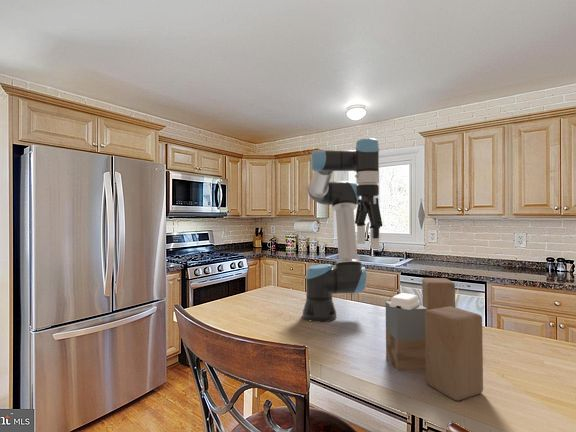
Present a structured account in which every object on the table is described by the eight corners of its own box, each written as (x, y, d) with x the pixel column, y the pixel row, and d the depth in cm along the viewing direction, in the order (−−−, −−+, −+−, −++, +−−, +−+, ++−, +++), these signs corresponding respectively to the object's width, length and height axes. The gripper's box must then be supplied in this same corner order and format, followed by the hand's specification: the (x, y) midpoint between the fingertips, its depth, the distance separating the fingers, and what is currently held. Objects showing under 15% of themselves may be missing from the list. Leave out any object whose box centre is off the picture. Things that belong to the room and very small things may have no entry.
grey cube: (385, 329, 103) (385, 301, 103) (413, 328, 104) (412, 300, 104) (397, 340, 94) (397, 309, 94) (427, 339, 95) (427, 308, 95)
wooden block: (456, 336, 121) (455, 282, 121) (427, 335, 123) (427, 282, 123) (448, 327, 130) (448, 278, 131) (422, 326, 132) (421, 277, 133)
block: (456, 403, 78) (455, 319, 78) (424, 383, 87) (423, 309, 87) (485, 394, 82) (483, 314, 82) (450, 376, 91) (449, 304, 91)
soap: (410, 310, 93) (410, 300, 93) (387, 306, 98) (387, 296, 98) (421, 303, 100) (421, 294, 100) (399, 300, 104) (399, 291, 104)
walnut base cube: (386, 358, 103) (385, 329, 103) (413, 357, 104) (413, 328, 104) (397, 371, 94) (397, 340, 94) (427, 370, 95) (427, 339, 95)
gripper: (346, 186, 124) (346, 242, 124) (369, 181, 99) (369, 250, 100) (365, 186, 125) (365, 241, 125) (393, 181, 100) (393, 250, 100)
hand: (367, 246), depth 112 cm, fingers open, 13 cm apart
